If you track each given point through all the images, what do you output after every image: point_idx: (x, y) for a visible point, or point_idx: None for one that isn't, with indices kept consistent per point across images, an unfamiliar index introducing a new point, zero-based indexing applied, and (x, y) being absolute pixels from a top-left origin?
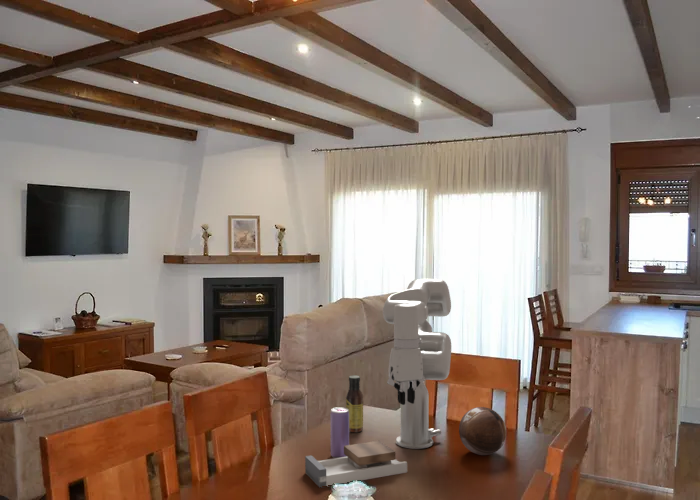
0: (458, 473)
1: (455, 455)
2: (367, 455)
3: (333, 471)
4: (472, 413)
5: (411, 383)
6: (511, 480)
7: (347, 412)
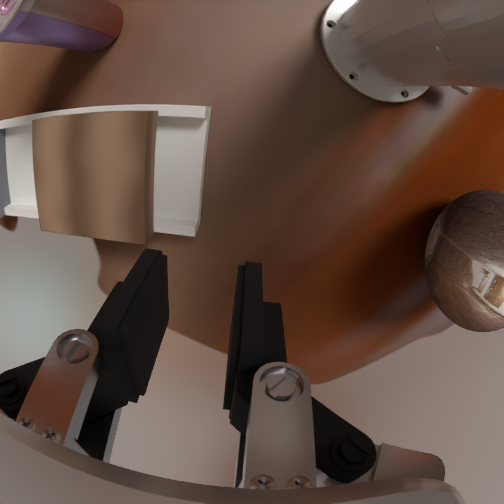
0: (312, 292)
1: (404, 199)
2: (61, 229)
3: (29, 165)
4: (496, 296)
5: (280, 440)
6: (361, 354)
7: (14, 20)
